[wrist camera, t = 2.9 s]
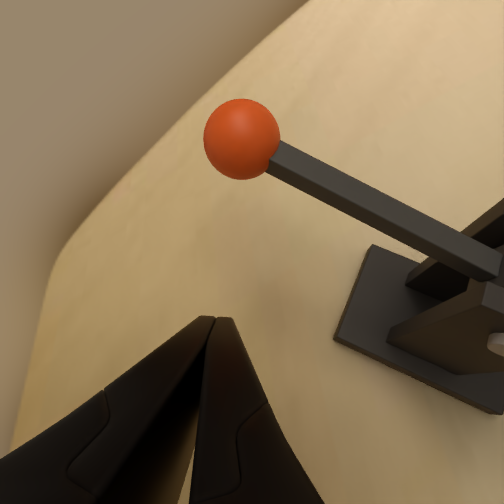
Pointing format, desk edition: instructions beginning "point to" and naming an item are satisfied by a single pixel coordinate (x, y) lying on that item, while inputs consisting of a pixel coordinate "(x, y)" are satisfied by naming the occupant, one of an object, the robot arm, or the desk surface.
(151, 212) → the desk surface
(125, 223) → the desk surface
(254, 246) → the desk surface
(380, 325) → the switch bracket
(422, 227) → the switch
